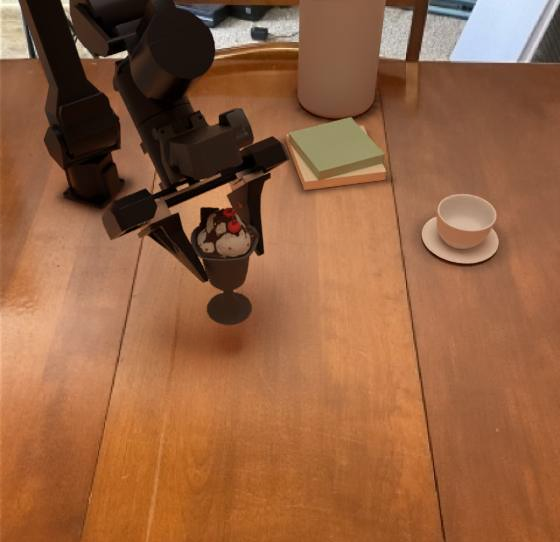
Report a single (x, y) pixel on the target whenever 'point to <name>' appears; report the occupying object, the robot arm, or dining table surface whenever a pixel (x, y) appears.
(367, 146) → the block stack
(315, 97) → the cylinder vase
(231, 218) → the sundae
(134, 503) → the dining table surface
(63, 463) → the dining table surface
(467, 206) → the teacup
